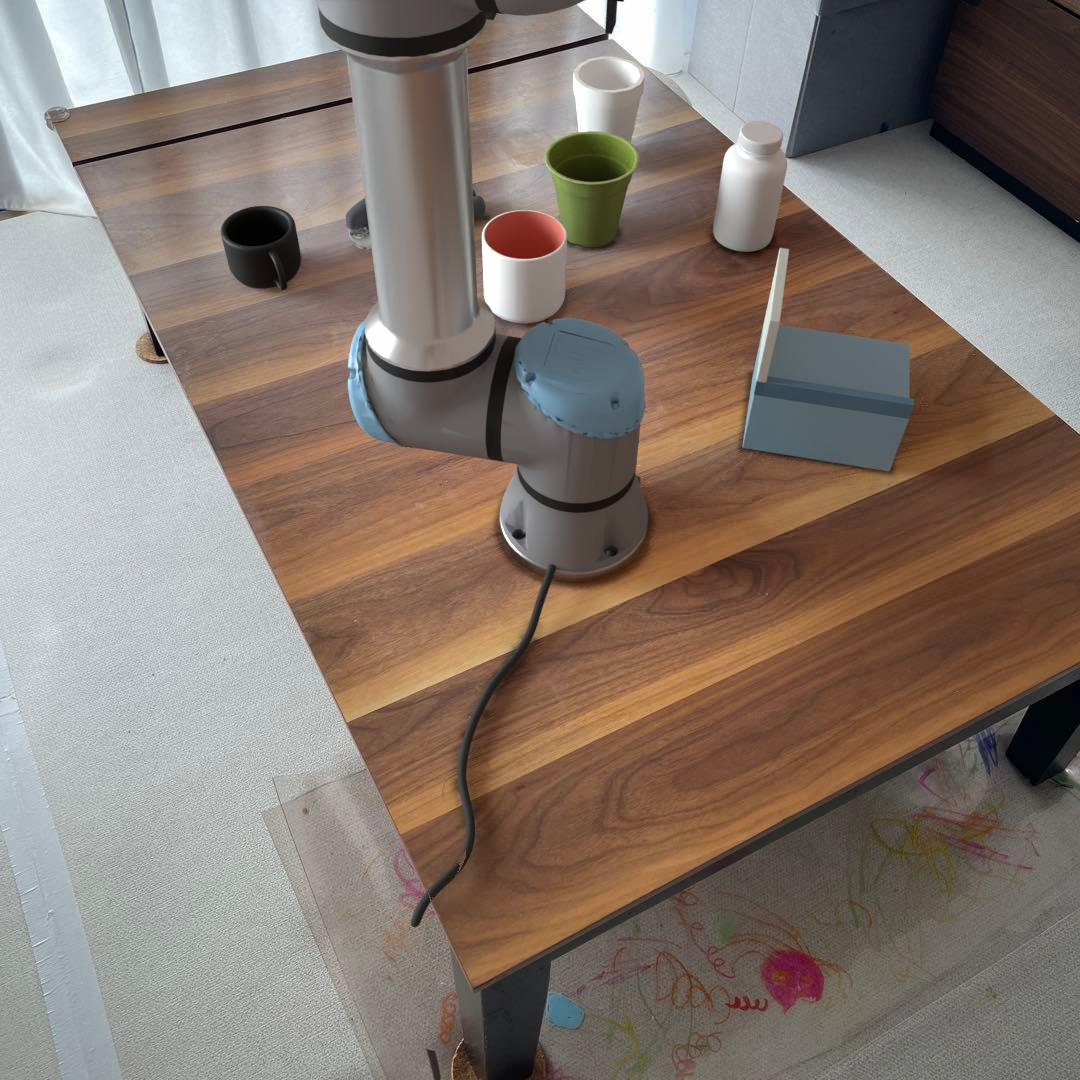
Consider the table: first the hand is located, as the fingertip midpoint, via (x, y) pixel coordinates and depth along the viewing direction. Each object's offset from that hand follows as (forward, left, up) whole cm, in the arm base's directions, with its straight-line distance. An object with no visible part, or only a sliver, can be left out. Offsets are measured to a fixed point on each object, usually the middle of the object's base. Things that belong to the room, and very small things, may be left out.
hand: (551, 21), depth 126 cm
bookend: (-28, -37, -28) cm, 55 cm away
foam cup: (+18, -4, -28) cm, 34 cm away
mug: (-18, +32, -28) cm, 46 cm away
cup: (-15, 0, -28) cm, 32 cm away
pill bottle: (+5, -25, -28) cm, 38 cm away
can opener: (-4, +17, -28) cm, 33 cm away
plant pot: (+1, -5, -28) cm, 29 cm away
